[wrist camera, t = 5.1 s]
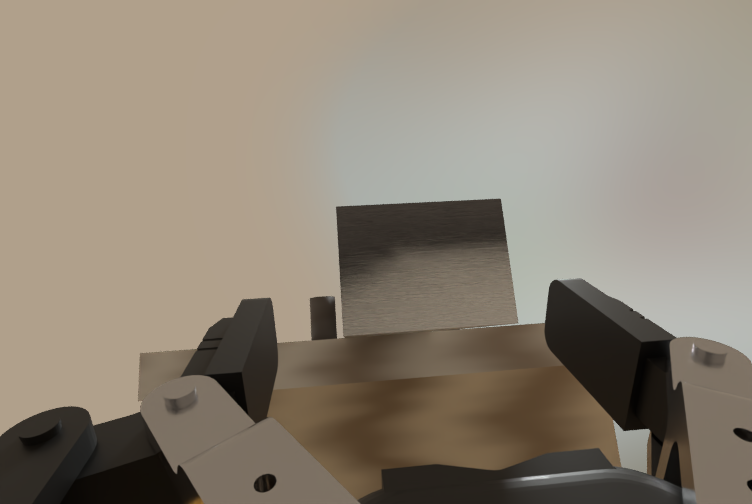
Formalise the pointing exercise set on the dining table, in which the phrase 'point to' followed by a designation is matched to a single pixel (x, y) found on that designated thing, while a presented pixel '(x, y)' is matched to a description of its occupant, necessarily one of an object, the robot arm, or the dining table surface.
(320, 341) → the stand
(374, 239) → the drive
